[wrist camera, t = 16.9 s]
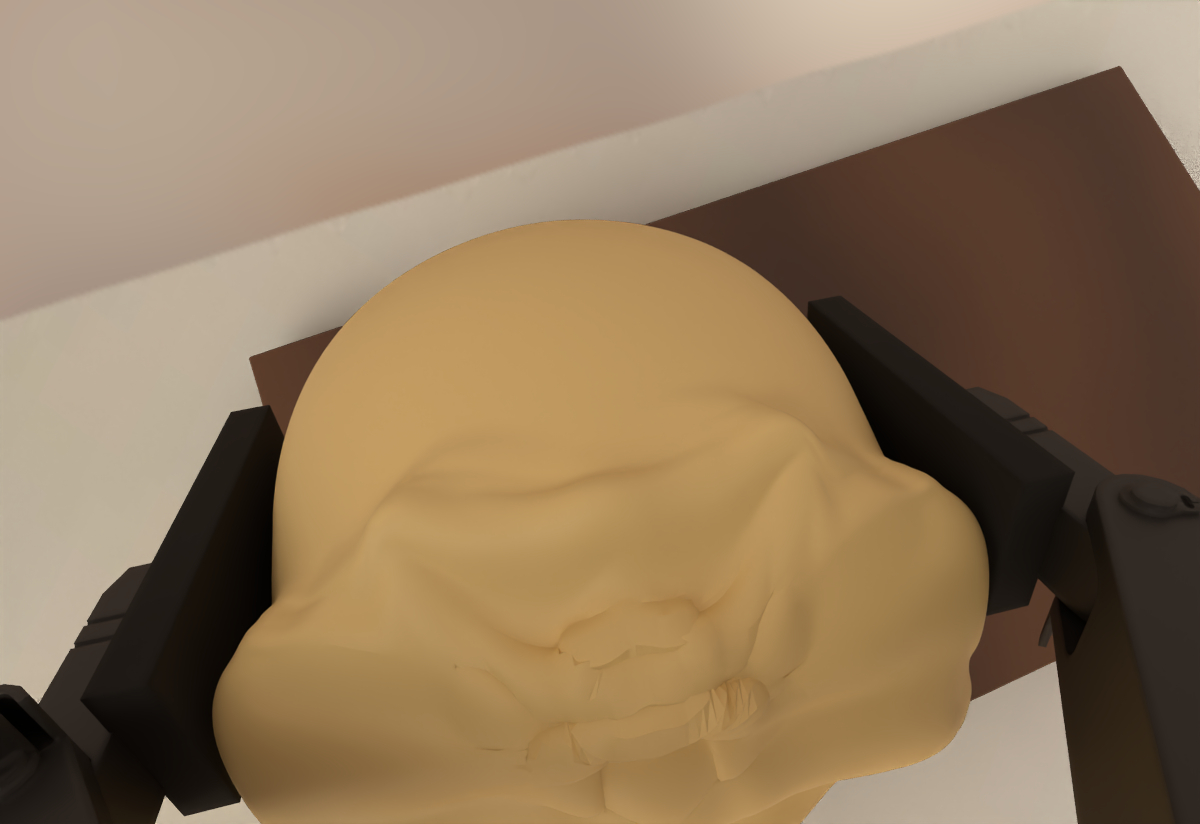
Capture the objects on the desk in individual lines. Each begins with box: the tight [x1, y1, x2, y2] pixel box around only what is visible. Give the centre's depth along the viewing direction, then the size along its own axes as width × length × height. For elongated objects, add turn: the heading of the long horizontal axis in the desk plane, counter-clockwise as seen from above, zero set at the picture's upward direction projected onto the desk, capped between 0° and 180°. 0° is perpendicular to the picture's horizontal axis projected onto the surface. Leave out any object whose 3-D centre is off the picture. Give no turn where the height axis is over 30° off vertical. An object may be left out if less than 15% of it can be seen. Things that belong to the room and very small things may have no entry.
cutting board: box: [249, 66, 1200, 701], centre depth 20 cm, size 30×16×2 cm, turn 112°
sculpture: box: [212, 220, 989, 824], centre depth 13 cm, size 11×12×11 cm
